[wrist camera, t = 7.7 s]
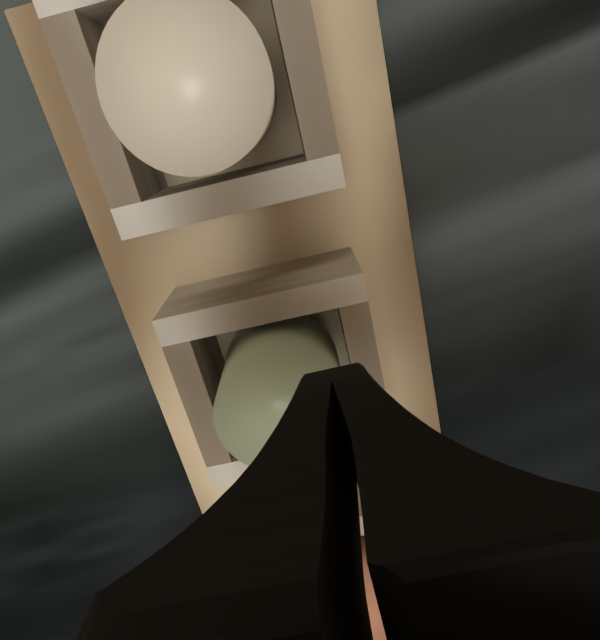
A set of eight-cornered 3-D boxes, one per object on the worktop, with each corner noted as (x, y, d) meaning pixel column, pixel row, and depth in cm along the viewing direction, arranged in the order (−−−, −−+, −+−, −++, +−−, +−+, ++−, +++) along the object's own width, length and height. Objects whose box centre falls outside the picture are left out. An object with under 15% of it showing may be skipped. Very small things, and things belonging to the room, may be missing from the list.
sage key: (325, 298, 19) (333, 343, 15) (347, 396, 20) (360, 458, 17) (213, 323, 19) (195, 373, 15) (244, 418, 21) (233, 483, 17)
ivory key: (257, -2, 15) (246, -42, 11) (290, 146, 17) (290, 154, 13) (119, 35, 15) (66, 8, 12) (166, 177, 17) (131, 193, 13)
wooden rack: (361, -85, 16) (382, -147, 12) (457, 553, 26) (484, 625, 23) (10, 12, 17) (-70, -18, 13) (237, 594, 27) (229, 670, 23)
